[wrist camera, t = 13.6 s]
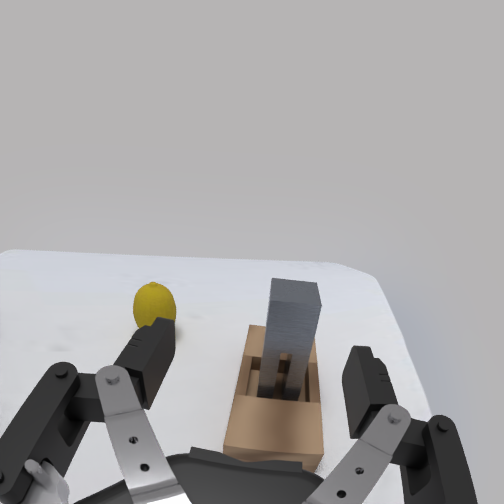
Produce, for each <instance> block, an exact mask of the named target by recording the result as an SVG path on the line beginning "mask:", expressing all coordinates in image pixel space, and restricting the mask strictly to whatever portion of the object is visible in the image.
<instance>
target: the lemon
mask: <svg viewBox="0 0 504 504" xmlns="http://www.w3.org/2000/svg"><path fill="white" fill-rule="evenodd" d="M133 314H134V318H135V321H136V324H137V326H138V327H139V328H141V327H143V326H144V325H147V326H151V325H152V324H153V322H154V321H155V319H156V318H157V317H162V318H167V319H172V320H174V323H175V319H176V305H175V301H174V298H173V296H172V294H171V292H170V291H169V290H168V289H167V288H166V287H165V286H163V285H161V284H158V283H155V282H150V283H149V284H146V285H144V286H143V287H141V288H140V289H139V290H138V292H137V293H136V295H135V298H134V304H133Z"/></svg>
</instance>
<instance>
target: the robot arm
mask: <svg viewBox="0 0 504 504" xmlns="http://www.w3.org/2000/svg"><path fill="white" fill-rule="evenodd" d="M174 354H175V323H174V320H172V319H167V318H162V317H157V318H156V319H155V321H154V322H153V324H152V325H151V326H147V325H144V326H143V327H141V328H140V329H138V330H137V331H136V332H135V333H134V335H133V336H132V338H131V339H130V341H129V342H128V344H127V345H126V346H125V348H124V349H123V351H122V352H121V354H120V355H119V357H118V358H117V360H116V361H115V363H114V364H113V365H110V366H106V367H103V368H101V369H100V370H99V371H98V372H97V374H87V373H78V372H77V369H76V367H75V366H74V365H73V364H71V363H68V362H59V363H56V364H54V365H52V366H51V367H50V368H49V369H48V370H47V371H46V373H45V374H44V376H43V377H42V378H41V380H40V381H39V382H38V384H37V385H36V387H35V388H34V389H33V391H32V392H31V394H30V395H29V396H28V398H27V399H26V401H25V402H24V404H23V405H22V406H21V408H20V409H19V411H18V412H17V414H16V415H15V417H14V418H13V420H12V421H11V423H10V424H9V426H8V427H7V429H6V431H5V432H4V434H3V435H2V437H1V438H0V502H1V503H3V504H68V497H69V486H68V484H67V482H66V481H65V480H64V479H63V478H64V476H65V474H66V472H67V470H68V467H69V465H70V463H71V461H72V459H73V457H74V455H75V453H76V450H77V448H78V446H79V444H80V442H81V440H82V438H83V436H84V434H85V432H86V430H87V428H88V426H89V424H90V422H105V423H106V426H107V430H108V433H109V436H110V440H111V443H112V446H113V449H114V452H115V455H116V458H117V461H118V463H119V466H120V469H121V472H122V474H123V477H124V479H123V480H121V481H119V482H118V483H116V484H114V485H112V486H110V487H107V488H105V489H103V490H101V491H99V492H97V493H95V494H93V495H91V496H88V497H86V498H84V499H82V500H79V501H77V502H75V503H74V504H362V503H363V501H364V500H365V498H366V497H367V496H368V494H369V493H370V491H371V490H372V489H373V487H374V486H375V484H376V483H377V481H378V480H379V478H380V477H381V475H382V474H383V472H384V471H385V469H386V467H387V466H388V464H389V463H392V464H397V465H400V471H401V478H402V486H403V494H404V503H405V504H478V503H477V498H476V494H475V490H474V486H473V482H472V479H471V475H470V471H469V467H468V464H467V461H466V457H465V454H464V451H463V447H462V444H461V441H460V438H459V435H458V432H457V429H456V426H455V424H454V422H453V421H452V420H451V419H450V418H448V417H446V416H443V415H436V416H433V417H432V418H431V419H430V420H429V421H428V422H425V421H420V420H416V419H412V418H411V417H410V414H409V412H408V411H407V410H406V409H405V408H403V407H402V406H399V405H398V402H397V399H396V396H395V393H394V389H393V386H392V383H391V382H390V381H391V380H390V377H389V376H388V371H387V368H386V366H385V365H384V363H383V362H382V361H381V360H380V359H379V358H374V357H373V354H372V351H371V348H370V347H368V346H353V347H352V349H351V352H350V354H349V357H348V360H347V362H346V365H345V368H344V370H343V375H342V386H343V392H344V398H345V405H346V411H347V418H348V425H349V432H350V439H358V440H357V442H356V443H355V444H354V445H353V447H352V448H351V449H350V450H349V452H348V453H347V454H346V455H345V457H344V458H343V459H342V460H341V462H340V463H339V464H338V465H337V466H336V467H335V469H334V470H333V471H332V472H331V473H330V474H329V476H328V477H327V478H326V479H325V480H324V479H323V478H321V477H320V476H318V475H316V474H314V473H313V472H310V471H307V470H304V469H302V462H299V461H284V460H268V461H258V462H244V461H241V460H238V459H235V458H233V457H230V456H227V455H225V454H222V453H220V452H216V451H211V450H206V449H201V448H196V447H191V450H190V453H184V454H176V455H171V456H168V457H165V456H164V454H163V452H162V449H161V447H160V445H159V443H158V441H157V439H156V436H155V434H154V432H153V430H152V427H151V425H150V423H149V421H148V418H147V416H146V413H145V411H144V409H147V410H149V409H150V407H151V405H152V403H153V401H154V399H155V396H156V394H157V392H158V390H159V388H160V386H161V384H162V381H163V379H164V377H165V375H166V373H167V371H168V369H169V367H170V364H171V362H172V360H173V358H174ZM143 408H144V409H143Z"/></svg>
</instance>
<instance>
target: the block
mask: <svg viewBox="0 0 504 504" xmlns="http://www.w3.org/2000/svg"><path fill="white" fill-rule="evenodd" d="M321 306H322V305H321V300H320V295H319V291H318V286H317V283H314V282H305V281H296V280H286V279H277V278H272V281H271V289H270V297H269V305H268V312H267V320H266V328H265V335H264V343H263V350H262V357H261V365H260V372H259V379H258V388H257V396H256V397H259V398H267V399H272V397H273V392H274V387H275V382H276V377H277V371H278V366H279V361H280V355H281V353H287V357H286V362H285V367H284V372H283V377H282V391H281V400H287V401H298V399H299V396H300V392H301V388H302V385H303V381H304V377H305V373H306V369H307V366H308V362H309V358H310V354H311V350H312V345H313V341H314V337H315V333H316V329H317V324H318V320H319V315H320V311H321Z"/></svg>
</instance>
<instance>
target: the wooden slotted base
mask: <svg viewBox="0 0 504 504" xmlns="http://www.w3.org/2000/svg"><path fill="white" fill-rule="evenodd" d="M265 328H266V327H265V326H257V325H249V330H248V335H247V339H246V344H245V349H244V353H243V358H242V363H241V367H240V372H239V377H238V381H237V386H236V390H235V395H234V399H233V404H232V409H231V413H230V418H229V422H228V427H227V431H226V435H225V440H224V444H223V454H225V455H227V456H230V457H233V458H235V459H238V460H241V461H244V462H258V461H268V460H284V461H299V462H302V469H304V470H307V471H310V472H313V473H314V472H315V470H316V468H317V466H318V465H319V463H320V461H321V459H322V457H323V455H324V448H323V431H322V416H321V402H320V390H319V378H318V367H317V356H316V346H315V337H314V341H313V345H312V350H311V354H310V358H309V362H308V366H307V369H306V373H305V377H304V381H303V385H302V388H301V392H300V396H299V399H298V401H287V400H281V391H282V377H283V372H284V367H285V362H286V357H287V353H281V355H280V361H279V366H278V371H277V377H276V382H275V387H274V392H273V397H272V399H267V398H259V397H256V396H257V388H258V379H259V372H260V365H261V357H262V350H263V343H264V335H265Z"/></svg>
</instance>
